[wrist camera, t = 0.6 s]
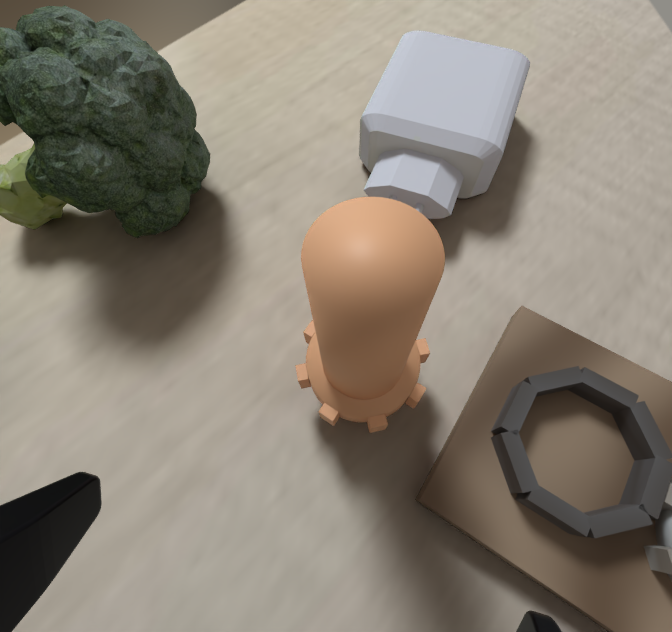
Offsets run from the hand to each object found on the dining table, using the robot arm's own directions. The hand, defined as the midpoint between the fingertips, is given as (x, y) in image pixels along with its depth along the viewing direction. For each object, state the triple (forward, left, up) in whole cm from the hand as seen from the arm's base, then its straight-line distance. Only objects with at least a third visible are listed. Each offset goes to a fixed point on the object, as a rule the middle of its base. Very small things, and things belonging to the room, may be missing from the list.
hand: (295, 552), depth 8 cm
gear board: (-2, -15, -13) cm, 20 cm away
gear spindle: (+7, -3, -13) cm, 15 cm away
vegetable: (+23, +10, -14) cm, 28 cm away
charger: (+21, -11, -14) cm, 28 cm away
